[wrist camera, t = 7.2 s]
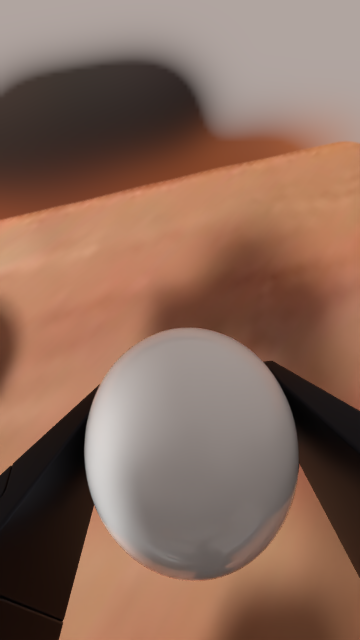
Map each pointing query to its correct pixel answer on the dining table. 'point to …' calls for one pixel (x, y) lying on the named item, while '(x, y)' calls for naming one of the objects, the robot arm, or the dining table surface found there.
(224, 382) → the lightbulb
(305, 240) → the dining table surface
